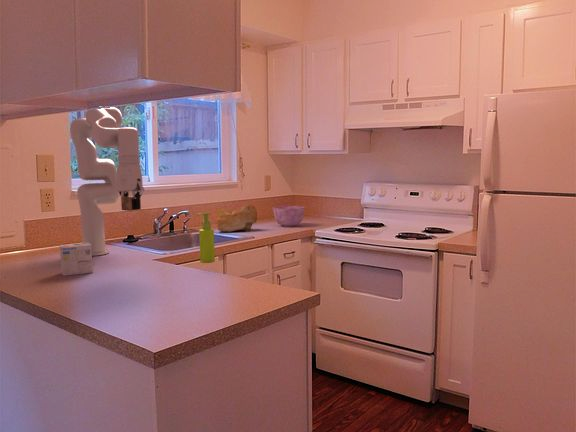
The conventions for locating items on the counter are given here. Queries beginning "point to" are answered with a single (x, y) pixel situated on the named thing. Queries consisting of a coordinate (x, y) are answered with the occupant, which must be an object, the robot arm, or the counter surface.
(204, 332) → the counter surface
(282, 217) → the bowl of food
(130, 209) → the walnut cube
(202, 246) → the soap dispenser
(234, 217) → the rough brown rock
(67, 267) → the light bulb box
